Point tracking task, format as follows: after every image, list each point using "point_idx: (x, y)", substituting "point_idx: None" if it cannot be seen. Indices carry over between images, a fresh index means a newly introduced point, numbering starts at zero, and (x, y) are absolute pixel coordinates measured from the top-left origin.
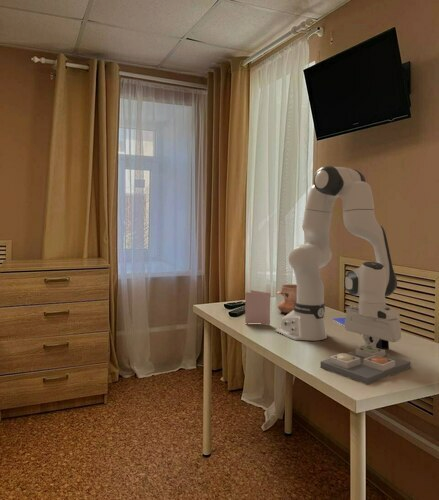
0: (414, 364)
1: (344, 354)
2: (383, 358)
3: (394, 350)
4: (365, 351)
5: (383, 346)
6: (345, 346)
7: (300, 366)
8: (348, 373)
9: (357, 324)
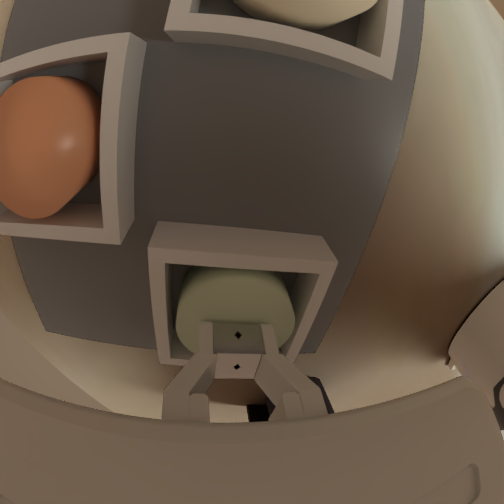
0: (80, 347)
1: (349, 4)
2: (18, 192)
3: (224, 406)
4: (238, 261)
5: (267, 408)
6: (395, 337)
7: None
8: None
9: (417, 478)
